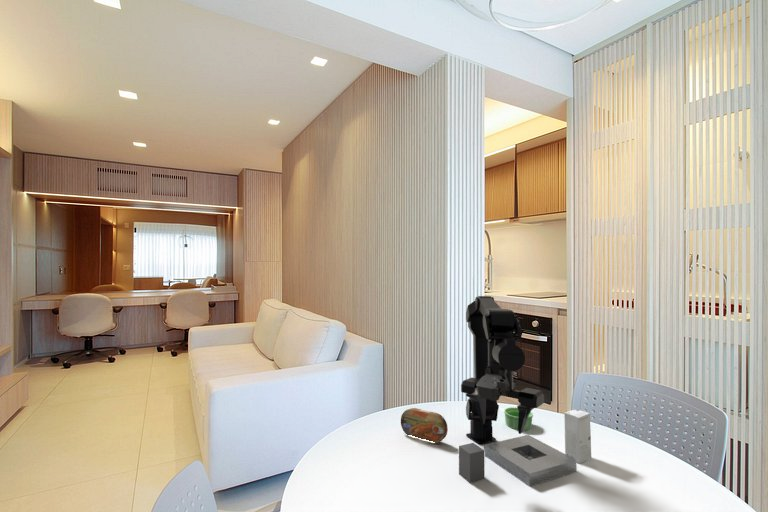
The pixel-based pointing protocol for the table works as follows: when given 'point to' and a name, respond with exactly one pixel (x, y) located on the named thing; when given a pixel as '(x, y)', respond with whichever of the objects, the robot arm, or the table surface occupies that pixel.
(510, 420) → the ramekin
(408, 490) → the table surface
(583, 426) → the skincare box
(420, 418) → the tin
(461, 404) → the table surface
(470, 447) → the tall grey square pillar
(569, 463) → the square hole plate
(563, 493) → the table surface
